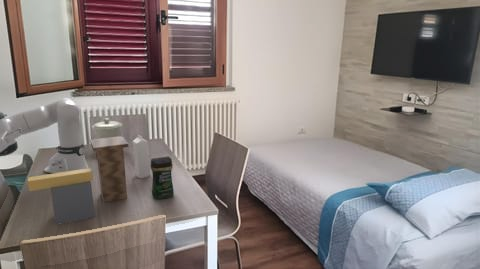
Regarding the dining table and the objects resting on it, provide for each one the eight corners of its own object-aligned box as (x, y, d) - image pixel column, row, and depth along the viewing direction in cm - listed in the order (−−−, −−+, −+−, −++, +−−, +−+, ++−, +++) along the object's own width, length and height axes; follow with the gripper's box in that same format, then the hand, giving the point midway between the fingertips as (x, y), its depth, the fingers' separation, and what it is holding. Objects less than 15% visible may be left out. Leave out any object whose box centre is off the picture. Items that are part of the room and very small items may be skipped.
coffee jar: (155, 201, 154) (152, 162, 149) (150, 194, 161) (148, 156, 156) (176, 197, 159) (174, 158, 154) (170, 190, 165) (168, 153, 160)
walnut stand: (99, 205, 150) (93, 147, 143) (95, 193, 162) (90, 139, 155) (132, 198, 157) (128, 143, 150) (126, 187, 168) (122, 135, 162)
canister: (99, 146, 234) (95, 115, 229) (126, 145, 236) (124, 115, 231) (90, 154, 217) (87, 121, 211) (120, 153, 219) (117, 121, 213)
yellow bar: (29, 191, 129) (27, 181, 128) (29, 187, 133) (28, 177, 132) (92, 180, 139) (91, 171, 138) (91, 177, 143) (90, 167, 142)
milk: (139, 178, 180) (136, 137, 174) (135, 175, 184) (131, 135, 178) (150, 175, 183) (147, 135, 177) (146, 172, 188) (143, 133, 182)
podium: (56, 224, 134) (50, 190, 130) (55, 213, 142) (50, 181, 139) (94, 216, 140) (91, 183, 136) (92, 206, 149) (88, 175, 145)
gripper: (-10, 153, 132) (26, 134, 136) (-17, 165, 114) (24, 142, 119) (-21, 139, 129) (16, 120, 134) (-31, 149, 112) (12, 127, 117)
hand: (20, 131), depth 126 cm, fingers open, 8 cm apart
